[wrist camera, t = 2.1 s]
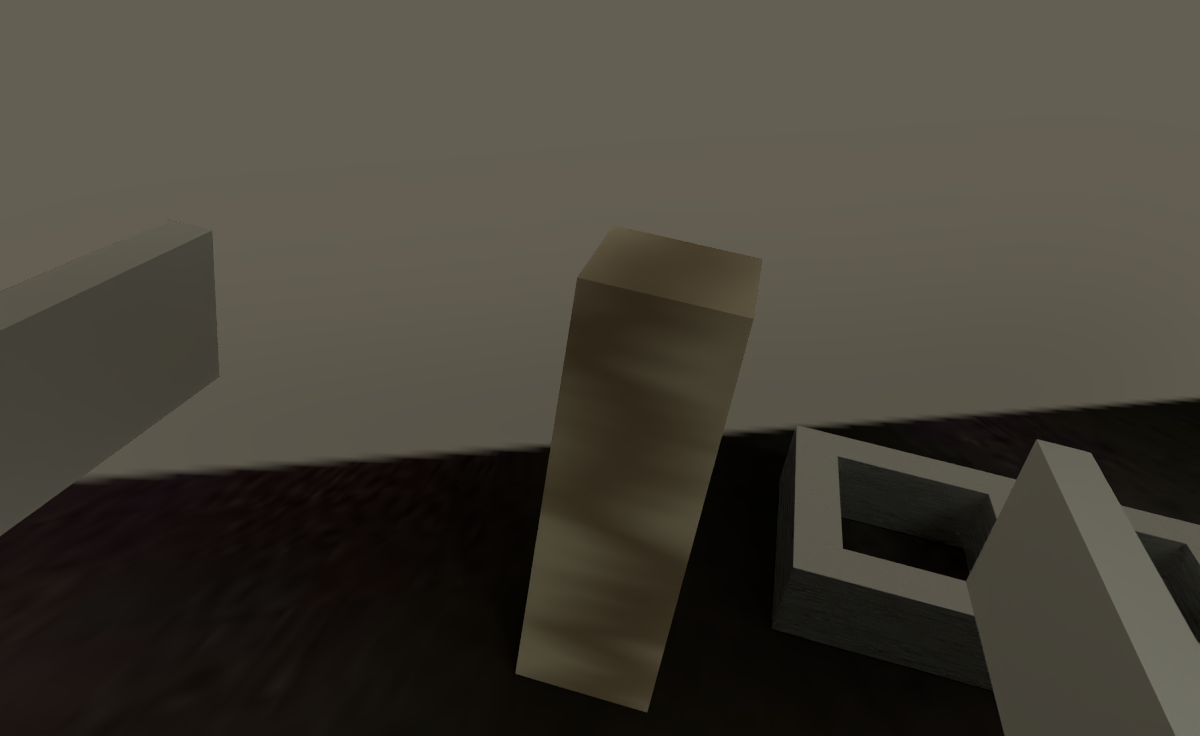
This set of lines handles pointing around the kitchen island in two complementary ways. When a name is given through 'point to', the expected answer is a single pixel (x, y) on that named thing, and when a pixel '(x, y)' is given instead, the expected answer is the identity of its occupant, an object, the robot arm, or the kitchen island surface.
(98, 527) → the kitchen island surface
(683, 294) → the peg
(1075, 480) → the robot arm
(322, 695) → the kitchen island surface
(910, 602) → the grey flat slotted block
